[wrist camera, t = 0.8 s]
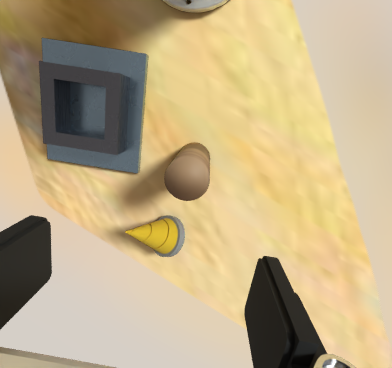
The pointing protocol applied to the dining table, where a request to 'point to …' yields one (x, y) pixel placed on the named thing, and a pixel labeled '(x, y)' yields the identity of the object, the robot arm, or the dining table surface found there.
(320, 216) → the dining table surface
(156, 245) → the yellow grooved cone part
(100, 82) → the grey square peg hole
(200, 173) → the walnut rod
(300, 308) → the robot arm
